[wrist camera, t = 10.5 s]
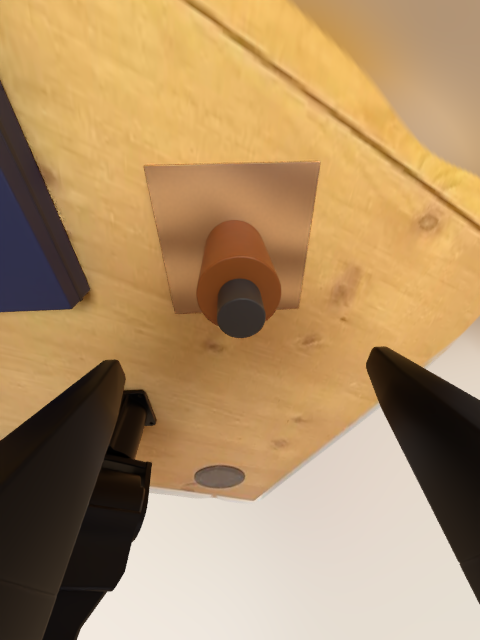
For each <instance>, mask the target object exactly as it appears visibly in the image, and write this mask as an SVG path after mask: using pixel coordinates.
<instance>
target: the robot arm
mask: <svg viewBox="0 0 480 640" xmlns="http://www.w3.org/2000/svg"><path fill="white" fill-rule="evenodd" d="M366 369H367V372H368V374H369V377H370V380H371V382H372V385H373V388H374V390H375V393H376V396H377V398H378V401H379V403H380V406H381V408H382V410H383V412H384V415H385V416H386V418H387V420H388V422H389V424H390V426H391V428H392V430H393V432H394V434H395V436H396V438H397V440H398V442H399V444H400V446H401V448H402V450H403V452H404V454H405V456H406V458H407V460H408V462H409V464H410V466H411V468H412V470H413V472H414V474H415V476H416V478H417V480H418V482H419V484H420V486H421V488H422V490H423V492H424V494H425V496H426V498H427V500H428V502H429V504H430V506H431V508H432V510H433V512H434V514H435V516H436V518H437V520H438V522H439V524H440V526H441V528H442V530H443V532H444V534H445V536H446V538H447V540H448V542H449V544H450V546H451V548H452V550H453V552H454V554H455V556H456V558H457V560H458V562H459V563H460V566H461V568H462V570H463V572H464V574H465V576H466V578H467V580H468V582H469V584H470V586H471V588H472V590H473V592H474V594H475V596H476V598H477V600H478V602H479V604H480V400H478V399H477V398H475V397H473V396H471V395H470V394H468V393H466V392H464V391H463V390H461V389H459V388H458V387H456V386H454V385H452V384H450V383H449V382H447V381H445V380H444V379H442V378H440V377H438V376H436V375H435V374H433V373H431V372H429V371H428V370H426V369H424V368H423V367H421V366H419V365H417V364H416V363H414V362H412V361H411V360H409V359H407V358H405V357H404V356H402V355H400V354H398V353H397V352H395V351H393V350H391V349H390V348H388V347H384V346H383V347H374V348H373V349H372V350H371V353H370V355H369V358H368V360H367V363H366ZM125 380H126V378H125V374H124V372H123V369H122V367H121V365H120V363H119V361H118V360H105V361H103V362H101V363H100V364H99V365H98V366H96V367H95V368H94V369H92V370H91V371H90V372H89V373H87V374H86V375H85V376H83V377H82V378H81V379H80V380H78V381H77V382H76V383H74V384H73V385H72V386H70V387H69V388H68V389H67V390H65V391H64V392H63V393H61V394H60V395H59V396H58V397H56V398H55V399H54V400H52V401H51V402H50V403H49V404H47V405H46V406H45V407H43V408H42V409H41V410H40V411H38V412H37V413H36V414H34V415H33V416H32V417H31V418H29V419H28V420H27V421H25V422H24V423H23V424H21V425H20V426H19V427H18V428H16V429H15V430H14V431H12V432H11V433H10V434H9V435H7V436H6V437H5V438H3V439H2V440H1V441H0V640H77V637H78V635H79V632H80V629H81V627H82V626H83V625H84V623H85V622H86V620H87V619H88V618H89V616H90V615H91V613H92V612H93V611H94V609H95V608H96V606H97V605H98V604H99V602H100V601H101V599H102V598H103V597H104V595H105V594H106V593H107V591H113V590H114V588H115V587H116V585H117V584H118V582H119V581H120V579H121V577H122V575H123V574H124V572H125V569H126V564H127V560H128V555H129V551H130V547H131V543H132V542H133V541H134V540H135V538H136V537H137V535H138V533H139V531H140V528H141V526H142V523H143V520H144V517H145V513H146V509H147V504H148V495H149V486H150V477H151V467H152V462H143V461H139V460H135V457H136V454H137V450H138V447H139V443H140V440H141V436H142V433H143V429H144V426H153V425H155V424H156V418H155V415H154V413H153V410H152V408H151V405H150V403H149V400H148V398H147V395H146V393H145V392H144V391H142V390H137V391H123V390H124V386H125Z"/></svg>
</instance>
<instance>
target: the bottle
mask: <svg viewBox="0 0 480 640" xmlns="http://www.w3.org/2000/svg"><path fill="white" fill-rule="evenodd" d="M196 298H197V303H198V305H199V308H200V310H201V311H202V313H203V314H204V315H205V317H206V318H207V319H208V320H210V321H211V322H212V323H214V324H215V325H217V326H219V327H220V329H221V330H222V331H223V332H224V333H225V334H227V335H229V336H231V337H235V338H246V337H250V336H252V335H254V334H256V333H257V332H259V331H260V330H261V328H262V327H263V325H264V323H265V321H267V320H268V319H269V318H270V317H271V316H272V315H273V314H274V312H275V311H276V309H277V307H278V305H279V303H280V300H281V284H280V280H279V278H278V275H277V273H276V271H275V268H274V266H273V263H272V261H271V259H270V256H269V254H268V252H267V249H266V247H265V244H264V242H263V240H262V237H261V235H260V234H259V232H258V231H257V230H256V229H255V228H254V227H253V226H252V225H250V224H249V223H247V222H244V221H240V220H229V221H225V222H223V223H221V224H219V225H217V226H216V227H215V228H214V229H213V230H212V231H211V232H210V234H209V236H208V238H207V240H206V244H205V249H204V254H203V259H202V264H201V269H200V274H199V279H198V284H197V290H196Z"/></svg>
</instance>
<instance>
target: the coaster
mask: <svg viewBox="0 0 480 640" xmlns="http://www.w3.org/2000/svg"><path fill="white" fill-rule="evenodd" d="M319 169H320V161H304V162H260V163H217V164H173V165H144V170H145V174H146V179H147V184H148V189H149V193H150V198H151V203H152V207H153V212H154V217H155V221H156V226H157V231H158V236H159V240H160V245H161V250H162V254H163V259H164V264H165V269H166V273H167V278H168V283H169V287H170V292H171V297H172V301H173V306H174V311H175V314H185V313H202V311H201V310H200V308H199V305H198V303H197V298H196V290H197V284H198V279H199V274H200V269H201V264H202V259H203V254H204V249H205V244H206V240H207V238H208V236H209V234H210V232H211V231H212V230H213V229H214V228H215V227H216V226H217V225H219V224H221V223H223V222H225V221H229V220H240V221H244V222H247V223H249V224H250V225H252V226H253V227H254V228H255V229H256V230H257V231H258V232H259V234H260V235H261V237H262V240H263V242H264V244H265V247H266V249H267V252H268V254H269V256H270V259H271V261H272V263H273V266H274V268H275V271H276V273H277V275H278V278H279V280H280V284H281V300H280V303H279V305H278V307H277V309H298V308H299V302H300V295H301V289H302V282H303V276H304V269H305V262H306V256H307V249H308V242H309V236H310V229H311V222H312V216H313V209H314V202H315V196H316V189H317V182H318V176H319ZM277 309H276V310H277Z"/></svg>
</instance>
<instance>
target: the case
mask: <svg viewBox="0 0 480 640" xmlns="http://www.w3.org/2000/svg"><path fill="white" fill-rule="evenodd" d="M89 291H90V287H89V285H88V283H87V281H86V278H85V276H84V274H83V271H82V269H81V267H80V264H79V262H78V260H77V257H76V255H75V253H74V250H73V248H72V246H71V244H70V241H69V239H68V237H67V234H66V232H65V230H64V227H63V225H62V223H61V220H60V218H59V216H58V213H57V211H56V209H55V206H54V204H53V202H52V200H51V197H50V195H49V193H48V190H47V188H46V186H45V183H44V181H43V179H42V176H41V174H40V172H39V169H38V167H37V165H36V163H35V160H34V158H33V156H32V153H31V151H30V149H29V146H28V144H27V142H26V139H25V137H24V135H23V132H22V130H21V128H20V126H19V123H18V121H17V119H16V116H15V114H14V112H13V109H12V107H11V105H10V102H9V100H8V98H7V95H6V93H5V91H4V89H3V86H2V84H1V82H0V312H15V311H39V310H63V309H72V308H73V307H74V306H75V305H76V304H77V303H78V302H79V301H82V300H83V297H84V296H85V295H86V294H87V293H88V292H89Z"/></svg>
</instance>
